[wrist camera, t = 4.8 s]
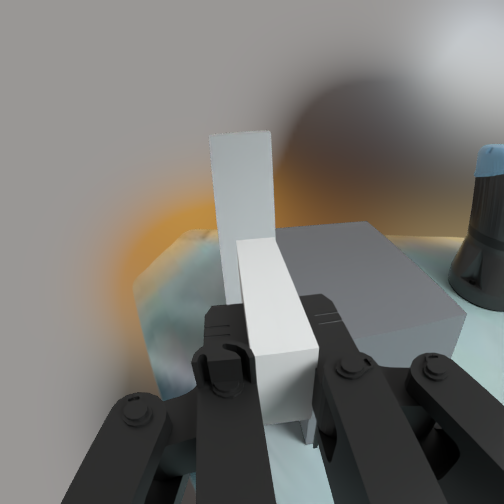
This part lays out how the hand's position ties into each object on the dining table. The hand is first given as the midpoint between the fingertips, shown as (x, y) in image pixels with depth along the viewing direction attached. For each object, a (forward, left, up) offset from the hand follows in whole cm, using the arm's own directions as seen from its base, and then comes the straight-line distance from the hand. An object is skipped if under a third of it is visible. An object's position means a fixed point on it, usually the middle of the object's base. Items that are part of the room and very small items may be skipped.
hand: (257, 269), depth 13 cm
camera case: (-16, +2, -19) cm, 25 cm away
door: (-11, -6, -18) cm, 22 cm away
